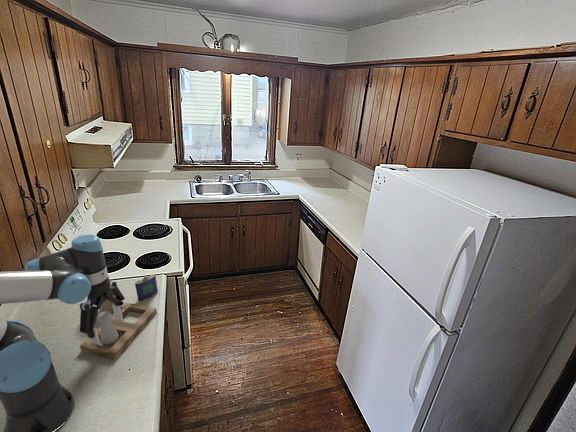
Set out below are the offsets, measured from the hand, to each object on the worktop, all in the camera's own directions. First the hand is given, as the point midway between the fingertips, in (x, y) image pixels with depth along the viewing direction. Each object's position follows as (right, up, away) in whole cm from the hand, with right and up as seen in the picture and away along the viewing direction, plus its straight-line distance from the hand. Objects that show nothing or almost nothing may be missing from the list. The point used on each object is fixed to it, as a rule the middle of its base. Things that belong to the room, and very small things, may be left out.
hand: (108, 330), depth 109 cm
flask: (+2, +5, +27) cm, 28 cm away
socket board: (+1, -3, +8) cm, 8 cm away
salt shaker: (0, -5, +2) cm, 6 cm away
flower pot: (-10, +2, +18) cm, 21 cm away
